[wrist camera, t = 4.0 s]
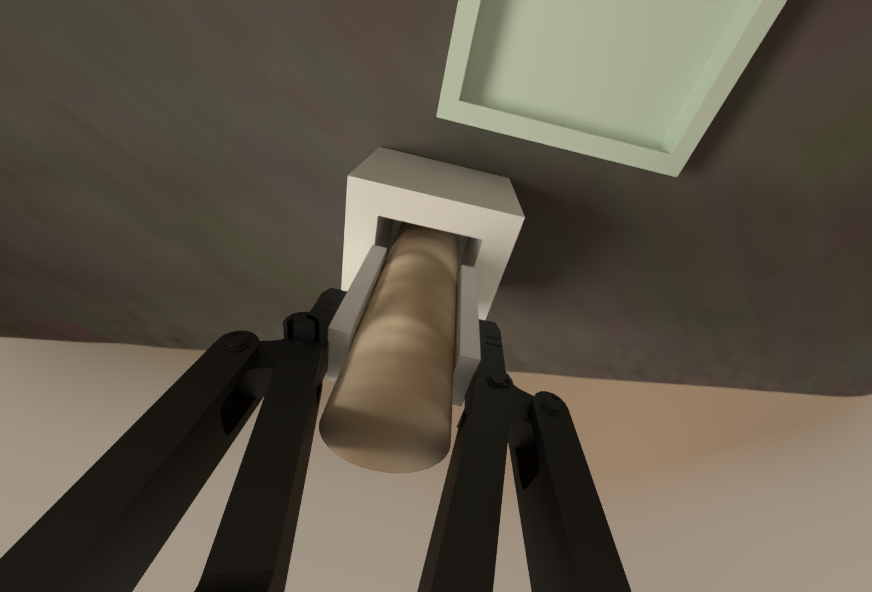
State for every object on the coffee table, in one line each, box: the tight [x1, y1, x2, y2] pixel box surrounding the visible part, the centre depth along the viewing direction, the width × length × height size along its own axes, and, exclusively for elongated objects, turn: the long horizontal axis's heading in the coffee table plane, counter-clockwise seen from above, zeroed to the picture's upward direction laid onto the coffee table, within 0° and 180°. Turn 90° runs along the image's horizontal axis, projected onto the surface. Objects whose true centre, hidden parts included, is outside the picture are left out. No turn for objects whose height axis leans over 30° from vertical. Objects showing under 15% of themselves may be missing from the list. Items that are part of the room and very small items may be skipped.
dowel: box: [319, 221, 459, 473], centre depth 17 cm, size 4×4×16 cm
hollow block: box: [341, 147, 525, 320], centre depth 21 cm, size 9×9×7 cm
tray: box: [436, 0, 787, 177], centre depth 16 cm, size 14×12×2 cm
